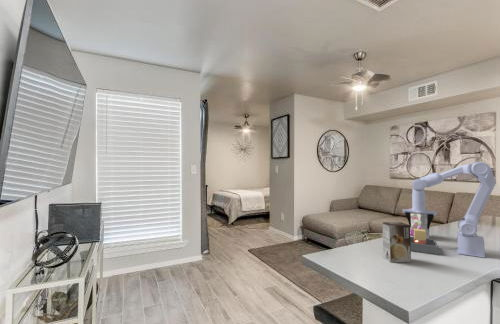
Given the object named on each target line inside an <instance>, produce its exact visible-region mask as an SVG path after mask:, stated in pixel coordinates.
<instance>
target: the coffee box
mask: <svg viewBox="0 0 500 324" xmlns="http://www.w3.org/2000/svg"><path fill="white" fill-rule="evenodd" d="M381 225H382V227H381V228H382V257H383V259H385V260H387V261H388V262H390V263H412V251H411V241H410V237H411V235H410V225H409V223H408V224H407V223H405V222H402V221H401V222H400V221H399V222H396V221H395V222H393V221H392V222H391V221H386V222H383V221H382V223H381Z"/></svg>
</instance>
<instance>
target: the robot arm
mask: <svg viewBox="0 0 500 324" xmlns="http://www.w3.org/2000/svg"><path fill="white" fill-rule="evenodd" d="M461 174H467V175H469V174H471V175H473V176H474V177H475V178H476V179H477V180H478V181H479V183H480V184H479V186H478V188H477V190H476V192H475V194H474V197H472V198H473V199H472V201H471V202H470V204H469V207H468V209H467V211H466V213H465V214H464V215H463V218H461V219H460V220H458V221H457V228H458V229H459V231H457V232H456V233H457V236H456V237H457V240H456V241H457V248H455V249H454V250H455V252H456V253H458V254H459V255H464V256H470V257H478V258H486V256H485V253H486V251H485V239H484V237H483V236H481V235H478V234H477V232H478V223H479V219H480V217H481V215H482V212H483V211H484V208H485V206H486V205H487V202H488V200H489V199H490V196H491V194H492V192H493V190H494V189H495V186H496V179H495V176H494V172H493V169H492V168H491V166H489V164H487V163H486V162H484V161H475V162H472V163H468V164H463V165H459V166H457V167H455V168H452V169H449V170H446V171H443V172H441V173H437V172H430V173H429V174H428V175H425V176H423V177H422V176H419V178H416V179H414V180H413V181H412V182H411V188H412V191H411V192H412V194H411V200H412V201H411V202H412V204H411V206H412V207H411V208H412V209H409V208H408V209H407V208H403V209H402V214H405V217H406V219H407V223H408V225H410V227H411V214H424V215H427V229H429V230H430V227H431V224H432V221H433V219H434V218H435V217H436V216H437V211H435V210H426V193H425V188H430V187H433V186H436V185H439V184H442V182H443V181H444V180H446V179H448V178H449V179H450V178H451V177H452V178H453V177H455V176H458V175H461ZM415 212H417V213H415ZM410 213H411V214H410Z"/></svg>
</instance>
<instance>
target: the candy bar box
mask: <svg viewBox="0 0 500 324" xmlns="http://www.w3.org/2000/svg"><path fill="white" fill-rule="evenodd" d="M408 209H412V207H409V208H408ZM415 213H417V212H415ZM410 214H411V213H410ZM414 229H424V230H425V231H426V239H430V228H429V229H427V215H424V214H411V227H410V236H411V237H414Z"/></svg>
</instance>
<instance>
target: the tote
mask: <svg viewBox="0 0 500 324" xmlns="http://www.w3.org/2000/svg"><path fill="white" fill-rule="evenodd" d="M413 238H414V236H410V241H411V252H412V253H422V254H427V255H434V256H439V254H440V253H439V251H440V250H439V245H438V243H437V240H436V239H433V238H429V239H426V245H425V244H417V243H414V241H413Z"/></svg>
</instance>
